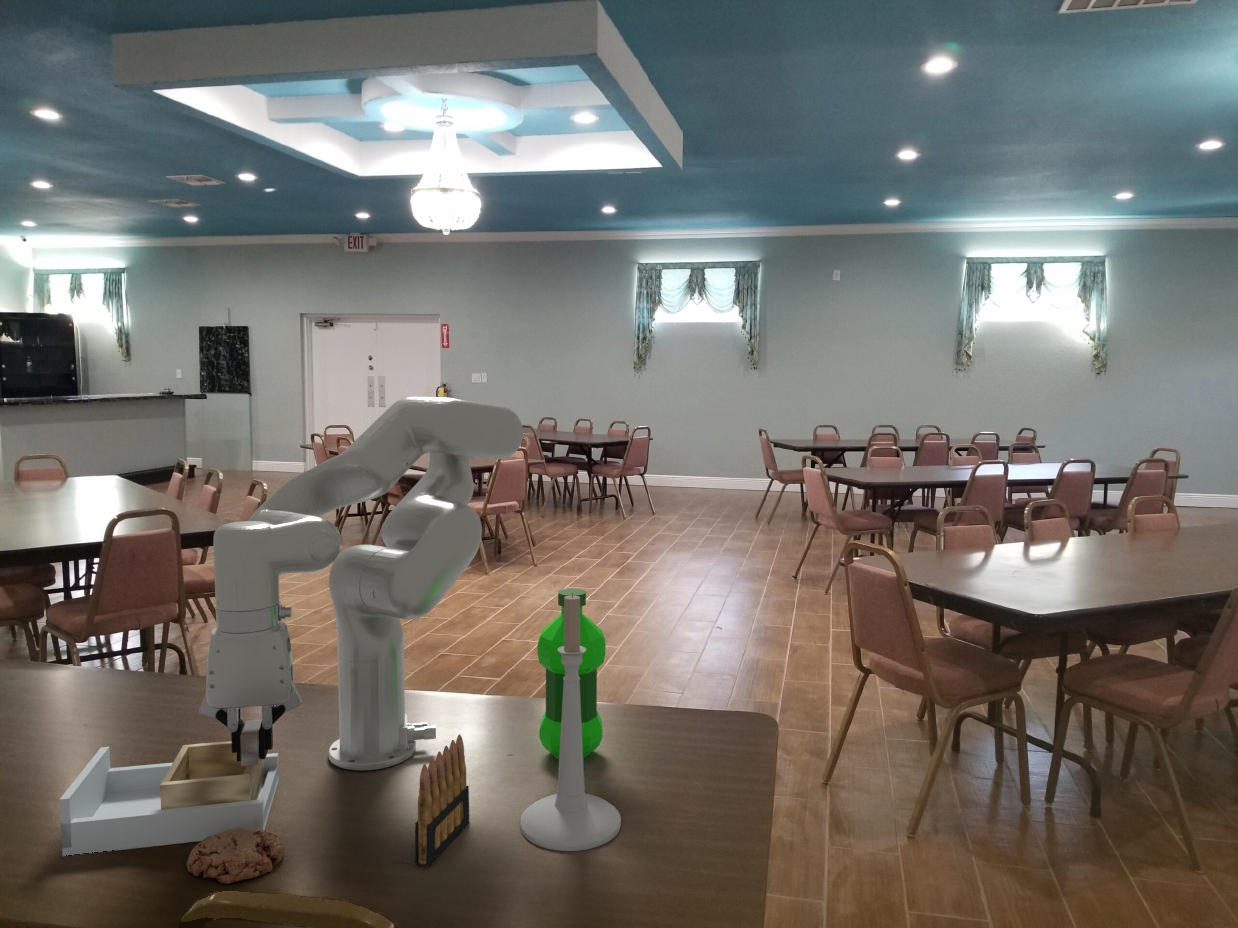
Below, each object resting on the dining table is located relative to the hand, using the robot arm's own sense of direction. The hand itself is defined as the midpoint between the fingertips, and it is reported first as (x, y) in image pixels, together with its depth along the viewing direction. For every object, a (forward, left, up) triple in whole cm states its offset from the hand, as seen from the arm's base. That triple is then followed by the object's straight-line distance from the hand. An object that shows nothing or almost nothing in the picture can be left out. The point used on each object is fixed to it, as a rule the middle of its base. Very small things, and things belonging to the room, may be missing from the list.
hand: (252, 754), depth 112 cm
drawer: (+4, 0, -6) cm, 7 cm away
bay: (+9, 0, -7) cm, 11 cm away
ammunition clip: (-24, +15, -7) cm, 29 cm away
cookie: (0, +13, -8) cm, 15 cm away
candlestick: (-40, +14, -7) cm, 42 cm away
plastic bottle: (-44, -6, -7) cm, 45 cm away
